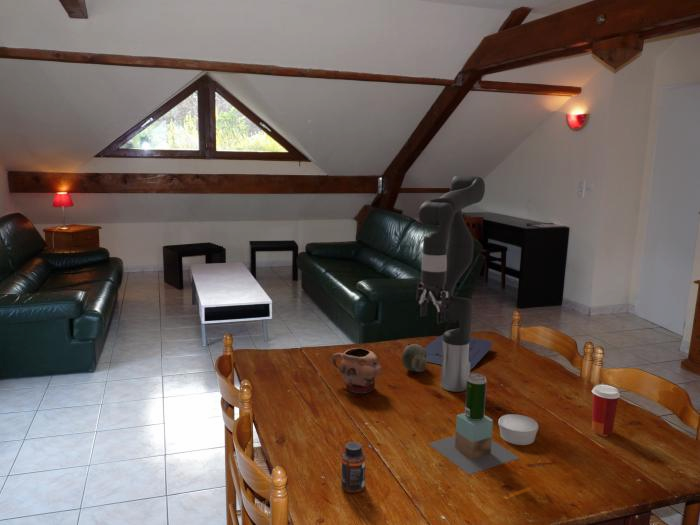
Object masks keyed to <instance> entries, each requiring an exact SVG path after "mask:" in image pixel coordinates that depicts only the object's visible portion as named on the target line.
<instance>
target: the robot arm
mask: <svg viewBox="0 0 700 525" xmlns="http://www.w3.org/2000/svg"><path fill="white" fill-rule="evenodd" d="M449 187H450V188H449V190H450V191H448V192H445V193H444V194H443V195H442V196H441V195H440V197H437V198H433V199H430V200H425V201H424V202H423V203H422V204H421V205H420V206H419V208H418V213H417V216H418V220H419V221H420V223H421V224H423V225H425V226H429V227H430V226H432V227H439V229H438V230H437V232H432V233H427V234H425V235H424V237H423V239H422V240H423V244H422V245H423V246H422V247H423V248H422V257H421V258H422V259H421V271H420V272H421V274H420V282H417V283H416V289H415V301H416V302H418V304H419V316H420V317H427V316H428V303H429V301H430V302H432V304H433V305H434V306H435V307H436V310H437V311H436V323H437V324H438V325H440V324H444V323H445V322H447V323H453V324H459V325H458V326H459V327H457V328H454V329H448V330H446V331H445V332H443V334H442V335H443V352H442V365H441V375H440V387H441V388H442V389H443V390H445V391H449V392H455V393H457V392H464V391H466V384H467V378H468V375H469V374H471V370H470V362H469V361H468V358H469V341H470V337H471V331H472V319H473V311H474V310H473V308H474V304H473V302H472V300H471V299H470V298H467V297H461V296H460V297H459V296H454V292H455V288H456V285H457V283H458V282H459V280H460V279H461V277H462V276H463V275H464V274H465V272H466V271H467V270H468V269H469V267H470V266H471V264H472V262H473V260H474V248H475V242H474V238H473V235H472V233H471V231H470V229H469V227H468V225H467V224H466V221H465V219H464V215H463V212H462V210H463V209H464V208H467V207H469V206H472V205H474V204H477V203H480V202H481V201H482V200H483V198H484V195H485V192H486V185H485V181H484V179H483V178H482V177H481V176H477V175H455V176H453V178H452V180H451V182H450V186H449Z"/></svg>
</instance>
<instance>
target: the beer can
mask: <svg viewBox="0 0 700 525" xmlns="http://www.w3.org/2000/svg"><path fill="white" fill-rule="evenodd" d="M486 398H487V377H486V375H484V374H481V373H476V372H475V373H470V374H469V375H468V378H467V384H466V390H465V404H464V413H465V416H466V418H467V419H468V420H471V421H481V420H483V418H484V415H485V412H486V411H485V410H486Z"/></svg>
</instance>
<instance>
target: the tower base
mask: <svg viewBox="0 0 700 525" xmlns="http://www.w3.org/2000/svg"><path fill="white" fill-rule="evenodd" d="M455 435H456V439H455V448H456V449H458V450H459V451H460V452H462V453H463V454H465V455H466V456H467V457H469V458H470V459H474V458H477V457H480V456H484V455H487V454H490V453H491V443H492V440H493V436H492V437H489V438H486V439H483V440H479V441H476V442H473V443H472V442H471V441H469V440H468V439H466V438H465V437H463V436H462V435H460V434H459V433H458V432H456V431H455Z"/></svg>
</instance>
